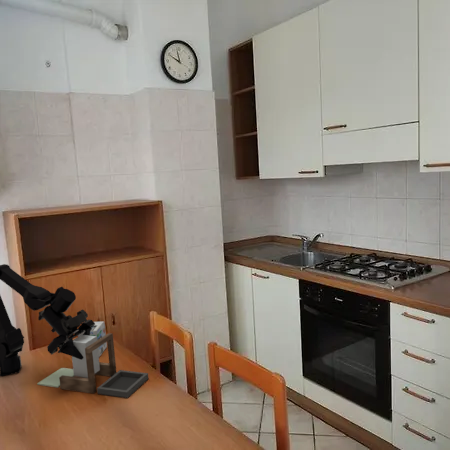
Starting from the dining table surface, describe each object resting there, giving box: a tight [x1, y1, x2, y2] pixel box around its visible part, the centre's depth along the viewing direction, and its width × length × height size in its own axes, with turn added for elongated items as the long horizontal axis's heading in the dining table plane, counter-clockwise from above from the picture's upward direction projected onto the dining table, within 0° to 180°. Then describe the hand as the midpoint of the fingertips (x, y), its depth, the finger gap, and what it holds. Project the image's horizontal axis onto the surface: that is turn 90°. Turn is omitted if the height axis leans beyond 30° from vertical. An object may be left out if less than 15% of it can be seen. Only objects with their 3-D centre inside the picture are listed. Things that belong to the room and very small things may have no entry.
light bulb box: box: [90, 321, 108, 358], centre depth 176 cm, size 11×7×11 cm, turn 179°
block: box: [71, 335, 100, 379], centre depth 151 cm, size 6×6×12 cm
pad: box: [37, 367, 75, 388], centre depth 157 cm, size 8×12×1 cm
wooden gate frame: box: [59, 332, 118, 394], centre depth 151 cm, size 13×13×15 cm
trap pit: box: [96, 369, 150, 399], centre depth 147 cm, size 11×13×2 cm
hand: (88, 354), depth 151 cm, fingers closed on block, 6 cm apart
